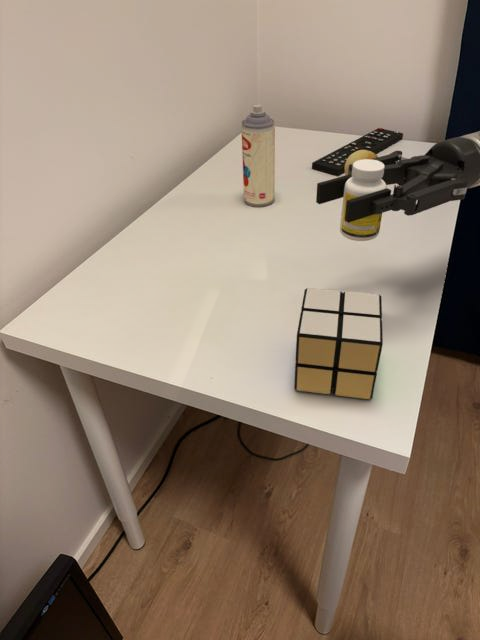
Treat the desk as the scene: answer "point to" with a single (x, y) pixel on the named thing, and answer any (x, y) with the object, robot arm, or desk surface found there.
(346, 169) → the fruit
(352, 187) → the supplement bottle
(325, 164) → the remote control
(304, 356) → the puzzle cube
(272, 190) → the aerosol can
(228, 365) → the desk surface
